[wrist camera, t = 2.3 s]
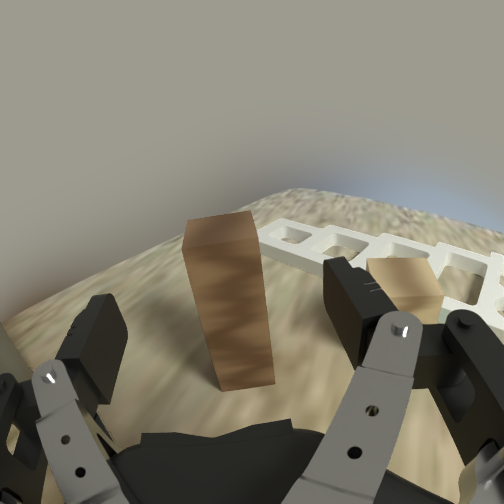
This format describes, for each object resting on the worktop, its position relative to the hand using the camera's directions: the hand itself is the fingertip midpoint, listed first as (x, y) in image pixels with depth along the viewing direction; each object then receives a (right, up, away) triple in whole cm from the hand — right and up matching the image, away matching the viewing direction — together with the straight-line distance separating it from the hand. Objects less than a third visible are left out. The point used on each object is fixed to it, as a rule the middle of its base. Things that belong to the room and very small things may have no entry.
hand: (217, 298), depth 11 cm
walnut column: (+1, -10, +18) cm, 20 cm away
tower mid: (+16, -4, +17) cm, 24 cm away
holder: (+22, -1, +31) cm, 38 cm away
